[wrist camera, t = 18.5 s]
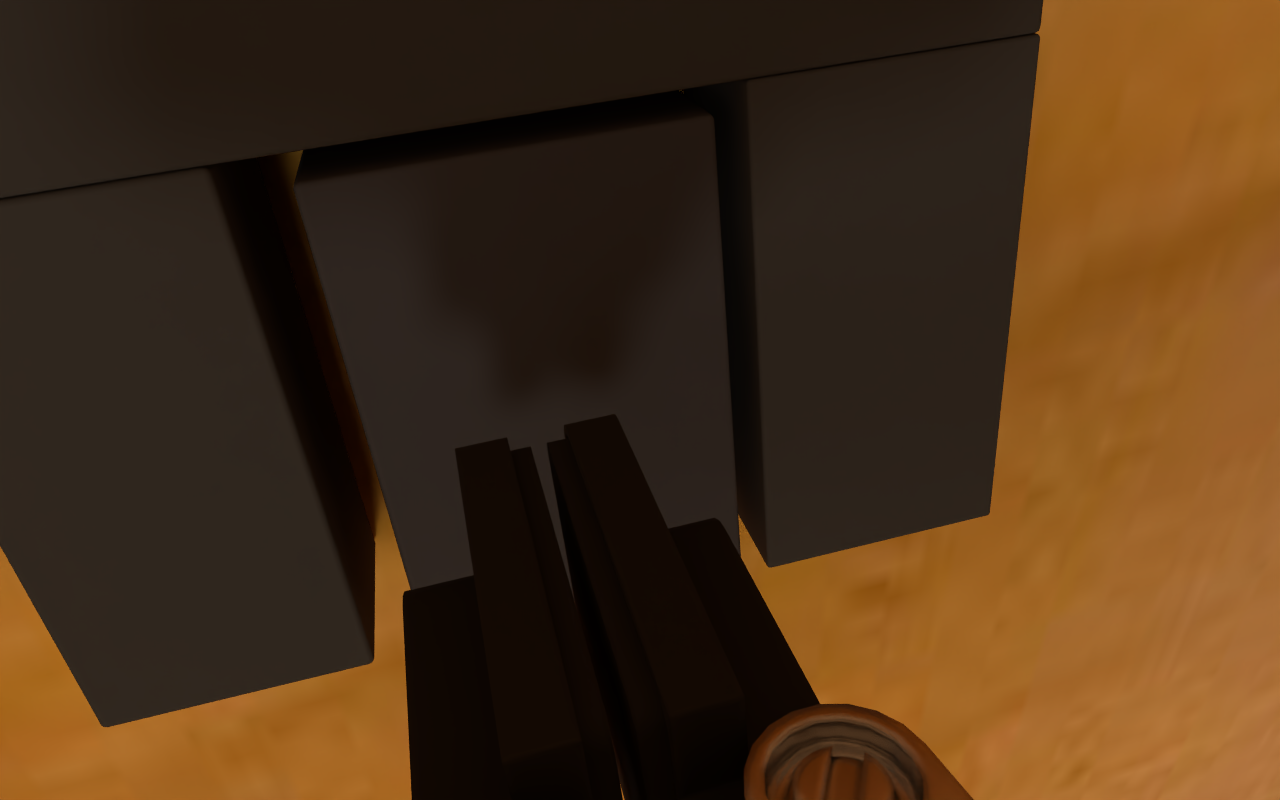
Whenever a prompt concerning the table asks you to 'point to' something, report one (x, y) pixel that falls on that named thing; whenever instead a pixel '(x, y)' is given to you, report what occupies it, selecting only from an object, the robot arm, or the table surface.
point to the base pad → (283, 347)
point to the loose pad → (529, 304)
